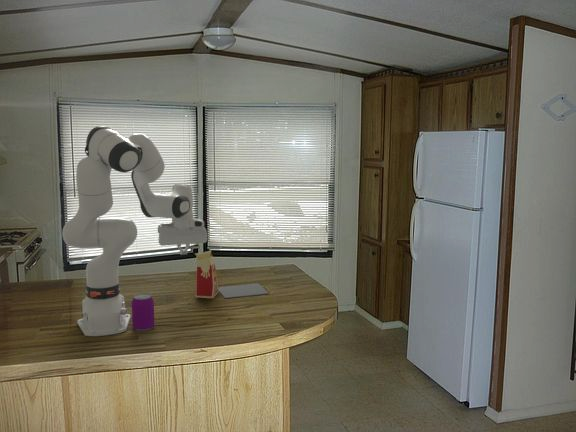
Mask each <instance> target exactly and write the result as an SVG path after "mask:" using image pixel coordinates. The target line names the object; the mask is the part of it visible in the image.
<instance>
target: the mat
mask: <svg viewBox="0 0 576 432" xmlns="http://www.w3.org/2000/svg"><path fill="white" fill-rule="evenodd" d="M218 291H219V292H218V293H219V294H220V295H221V296H222V298H224V299H234V298H235V299H236V298H245V297H255V296H262V295H264V296H265V295H270V293H269V291H268V290H266V289H265V288H264V287H263V286H262V285H261V284H259V282H257V283H248V284H247V283H246V284H237V285H226V286H218Z"/></svg>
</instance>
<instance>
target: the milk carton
mask: <svg viewBox="0 0 576 432" xmlns="http://www.w3.org/2000/svg"><path fill="white" fill-rule="evenodd" d="M194 255H196V275H195V277H196V280H195V282H196V283H195V298H196V299H197V298H199V299H201V298H202V299H204V298H205V299H214V298H215V297H216V296H217V295H218V294H219V293H220V292H219V291H218V287H219V281H218V274H217V269H216V268H217V267H216V264H215V260H214V257H213V254H212V250H208V251H204V252H197V253H194Z"/></svg>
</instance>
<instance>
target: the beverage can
mask: <svg viewBox="0 0 576 432" xmlns="http://www.w3.org/2000/svg"><path fill="white" fill-rule="evenodd" d="M131 315H132V316H131V318H132V319H131V320H132V322H131V323H132V328H133V329H134V330H135V331H139V332H145V331H149V330H152V329H153V328H154V327H155V302H154V298H153V296H152V294H151V293H147V292H145V293H142V292H141V293H137V294H134V295H133V299H132V301H131Z"/></svg>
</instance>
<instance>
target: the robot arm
mask: <svg viewBox="0 0 576 432" xmlns="http://www.w3.org/2000/svg"><path fill="white" fill-rule="evenodd" d="M84 153H85V155H86V157H84V158H82V159H80V160H79V161H78V163H77V164H76V165H77V166H76V177H75V178H76V188H77V197H78V209H77V212H76V214H75V215H74V216H73V217H72V218H71V219H69V220H68V221H67V222H66V223H65V224H64V226H63V228H62V230H61V231H62V232H61V235H62V239H63V241H64V243H65V244H66V245H67V246H68V247H71V248H75V249H76V248H77V249H102V253H101V254H100V255H97V256H96V257H93V258H92V259H90V260H89V261H88V263H87V264H86V267H85V271H86V274H85V275H86V285H85V298H84V299H82V301H81V306H82V308H81V310H82V314H81V317H82V318H80V319H77V321H76V322H77V323H76V325H78V327H79V328H80V330H81V332H82V333H83V335H84V336H85V337H101V336H102V337H103V336H110V335H111V336H112V335H116V334H117V335H118V334H120V333H123V332H126V331H127V330H128V327H129V324H130V321H131V318H132V316H131V314H128V313H127V308H126V305H127V304H126V302H125V296H124V295H122V293H121V284H120V282H119V266H120V265H119V264H120V260H121V258H122V256H123V254H124V252H126V250H127V249H128V248H129V247H130V246H132V245H133V244H134V243H135V241H136V239H137V237H138V228H137V225H136V223H135V222H134V221H133V220H132V219H130V218H123V217H102V216H104V215H106V214H107V213H108V212H109V211H110V210H112V207H113V205H114V199H113V191H112V190H113V189H112V183H111V172H112V170H114V171H116V172H119V173H124V174H125V173H128V172H130V171H131V174H130V176H131V183H132V185H133V188H134V191H135V192H136V196H137V199H138V201H139V205H140V210H141V212H142V214H143V215H144V216H145V217H146V218H164V219H171V222H166V223H165V222H162V223H161V224H158V226H157V233H158V244H159V246H161V247H162V246H163V247H165V246H175V245H176V247H177V248H178V250H179V255H188V250H189V248H190V246H191V245H193V244H194V245H195V244H205V243H207V242H208V231H207V229H206V227H205V221H204V220H202V218H201V219H200V218H198V217H194V212H193V207H194V196H193V191H192V190H193V189H192V187H191V185H188V184H181V183H176V184H173V186H172V189H171V192H170V193H169V194H168V193H157V192H154V191H152V190H151V188H150V184H153V183H155V182H156V181H157V180H158V179H160V178H161V177H162V175H163V174H164V171H165V161H164V159H163V157H162V155H161V154H160V151H159V149H158V148H157V147H156V145H155V144H154V142H153V141H152V140H151V139H150V138H149V137H148V135H146V134H144V133H140V132H139V133H138V132H137V133H134V134H131V135H130V136H128V137H127V138H126V137H125V136H124V135H122V134H121V133H119V132H118V131H115V130H114V129H113V128H110V127H109V126H103V125H99V126H95V127H93V128H92V129H91V130H90V131H89V132H88V135H87V136H86V141H85V147H84ZM182 245H185V249H182V248H181V247H182Z"/></svg>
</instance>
